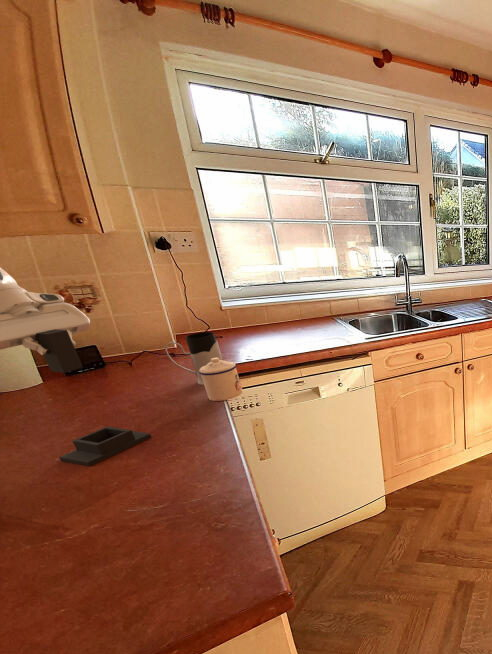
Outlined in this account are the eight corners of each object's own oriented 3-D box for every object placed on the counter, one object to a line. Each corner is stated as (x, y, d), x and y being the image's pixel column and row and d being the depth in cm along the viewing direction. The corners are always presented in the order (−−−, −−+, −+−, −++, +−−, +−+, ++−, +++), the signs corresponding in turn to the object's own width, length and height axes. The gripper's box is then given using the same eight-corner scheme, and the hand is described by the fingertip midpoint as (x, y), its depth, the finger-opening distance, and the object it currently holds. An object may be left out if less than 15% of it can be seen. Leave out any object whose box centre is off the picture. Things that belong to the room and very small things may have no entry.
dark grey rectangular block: (64, 372, 106) (47, 334, 102) (50, 371, 107) (33, 333, 103) (83, 367, 109) (67, 330, 105) (69, 366, 111) (53, 329, 107)
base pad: (89, 466, 91) (82, 452, 89) (60, 460, 93) (53, 447, 92) (151, 437, 102) (146, 424, 101) (124, 432, 105) (119, 420, 103)
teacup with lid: (246, 395, 125) (235, 358, 120) (210, 404, 119) (197, 366, 115) (239, 384, 133) (228, 349, 129) (204, 392, 128) (192, 355, 123)
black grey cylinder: (227, 381, 136) (213, 336, 130) (173, 389, 130) (157, 343, 125) (231, 373, 143) (218, 330, 137) (181, 380, 138) (165, 335, 132)
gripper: (-43, 309, 94) (6, 354, 95) (67, 293, 112) (107, 331, 113) (-46, 328, 97) (3, 371, 98) (63, 309, 115) (102, 346, 116)
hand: (60, 349), depth 106 cm, fingers closed on dark grey rectangular block, 4 cm apart
